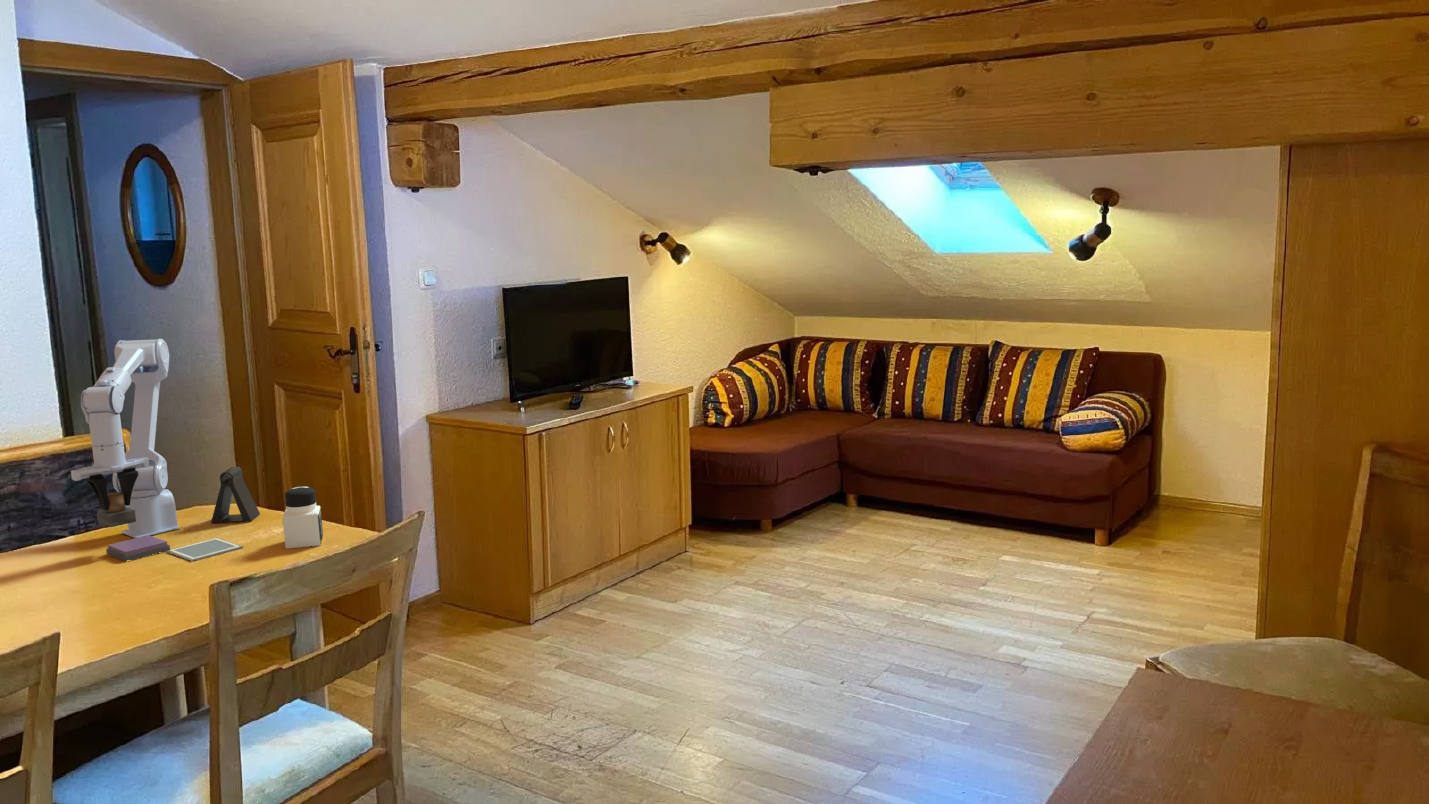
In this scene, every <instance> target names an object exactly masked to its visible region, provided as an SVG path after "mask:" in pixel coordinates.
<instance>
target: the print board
mask: <svg viewBox="0 0 1429 804" xmlns="http://www.w3.org/2000/svg"><path fill="white" fill-rule="evenodd" d="M243 548H244V545H243V546H242V545H241V544H237V543H234V542H231V541H228V540H225V539H222V538H219V537H214V538H211V539H207V540H203V541H200V542H195V543H192V544H188V545H184V546H180V547H177V548H172V549H170V550H168V551H166V552H165V553H167V552H169V553H168V554H170V553H172V554H174V555H173V556H175V555H177V556H176V557H178V556H179V557H178V558H180V557H181V559H183V558H184V559H183V560H186V561H188V560H190V561H189V562H191V561H192V562H195V561H194V560H196V561H198V560H203V559H207V558H211V557H215V556H218V555H221V554H225V553H229V552H230V553H231V552H233V551H236V550H237V551H238V550H240V549H243ZM172 554H171V555H172Z"/></svg>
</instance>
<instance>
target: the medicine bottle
mask: <svg viewBox="0 0 1429 804" xmlns="http://www.w3.org/2000/svg"><path fill="white" fill-rule="evenodd" d="M316 497H317V496H316V490H315V489H314V488H313V487H309V486H296V487H293V488H290V489H288V490H287V491H285V493H284V500H285V510H284V513H283V516H282V525H283V536H284V544H285V545H284V546H285V547H284V548H285V549H286V550H290V549H292V550H293V549H299V548H300V549H301V548H310V546H312V547H320V546H322V543H323V538H324V533H323V532H324V530H323V519H322V509H321V508H322V507H321V506H320V505H317V498H316Z"/></svg>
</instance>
